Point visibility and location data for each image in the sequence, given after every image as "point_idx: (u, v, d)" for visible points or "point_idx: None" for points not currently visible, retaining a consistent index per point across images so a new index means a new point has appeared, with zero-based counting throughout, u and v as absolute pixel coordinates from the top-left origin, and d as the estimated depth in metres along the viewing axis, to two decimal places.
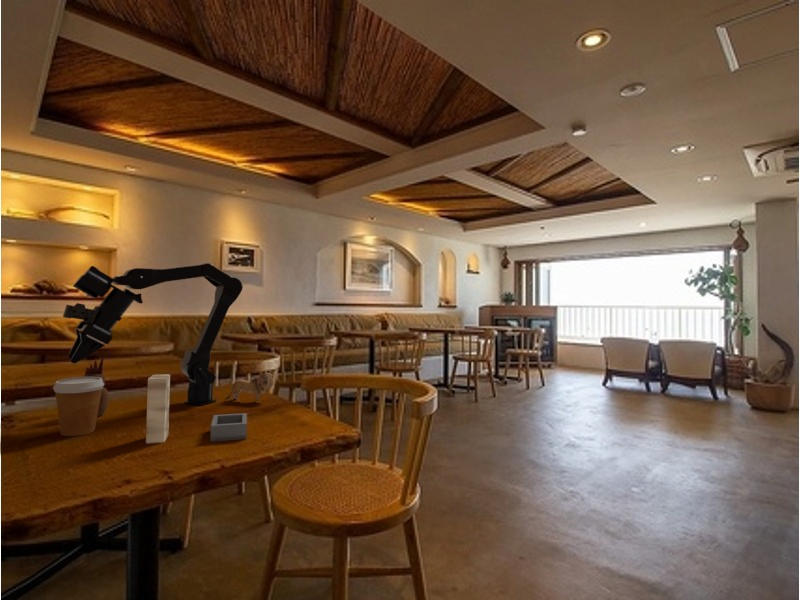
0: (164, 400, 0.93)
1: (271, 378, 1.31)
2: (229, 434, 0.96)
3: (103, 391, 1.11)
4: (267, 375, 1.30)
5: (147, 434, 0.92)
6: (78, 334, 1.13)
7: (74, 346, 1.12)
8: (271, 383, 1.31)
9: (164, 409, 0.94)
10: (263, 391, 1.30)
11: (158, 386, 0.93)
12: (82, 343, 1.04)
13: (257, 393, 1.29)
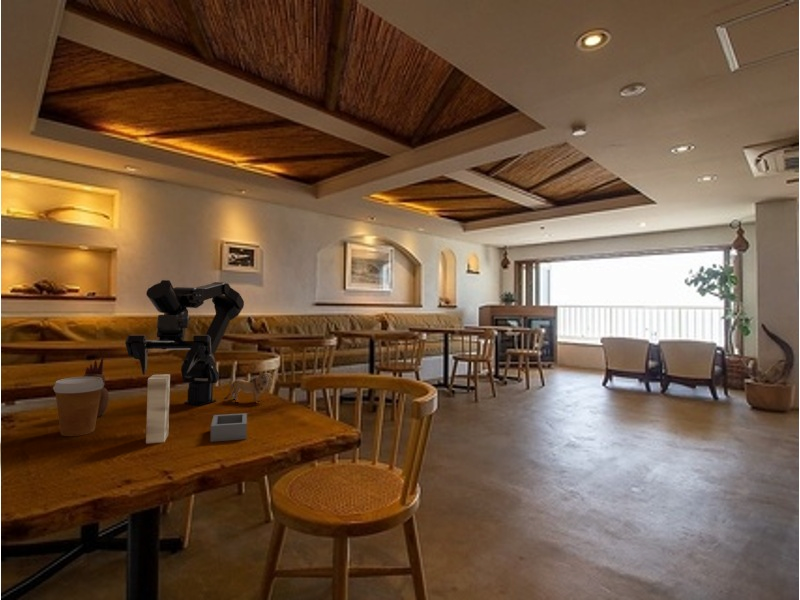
0: (164, 400, 0.93)
1: (270, 378, 1.31)
2: (229, 434, 0.96)
3: (103, 391, 1.11)
4: (266, 375, 1.31)
5: (147, 434, 0.92)
6: (145, 348, 1.04)
7: (145, 361, 1.03)
8: (270, 383, 1.31)
9: (164, 409, 0.94)
10: (262, 391, 1.30)
11: (158, 386, 0.93)
12: (196, 353, 1.07)
13: (256, 393, 1.29)
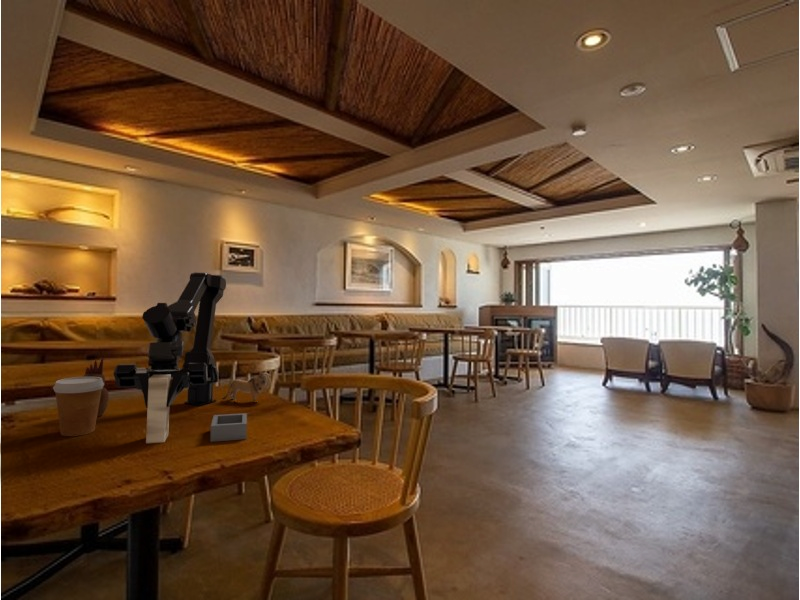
0: (165, 400, 0.93)
1: (269, 378, 1.31)
2: (229, 434, 0.96)
3: (103, 391, 1.11)
4: (265, 375, 1.31)
5: (147, 434, 0.92)
6: (148, 379, 0.96)
7: None
8: (269, 383, 1.31)
9: (164, 409, 0.94)
10: (261, 391, 1.30)
11: (158, 386, 0.93)
12: (178, 383, 0.98)
13: (255, 393, 1.29)
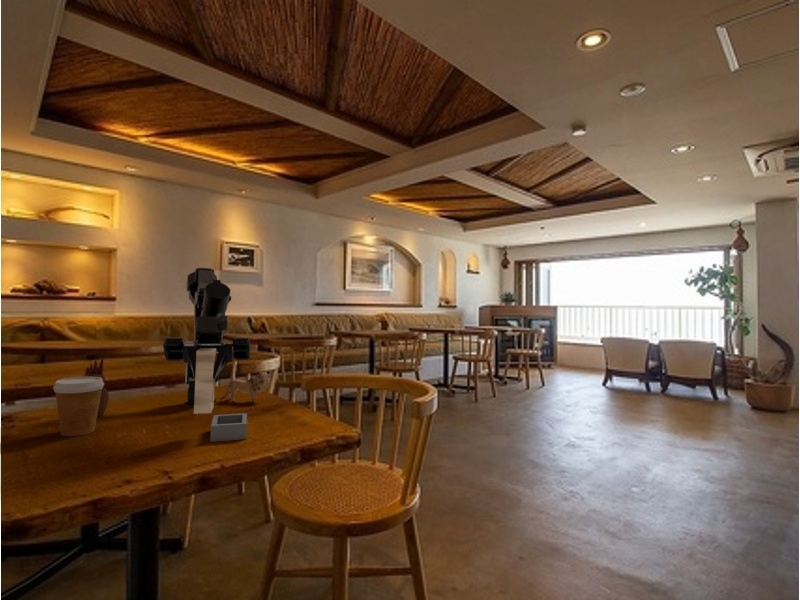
0: (211, 372, 0.96)
1: (267, 377, 1.31)
2: (229, 434, 0.96)
3: (103, 391, 1.11)
4: (263, 375, 1.31)
5: (195, 405, 0.95)
6: (196, 352, 0.99)
7: None
8: (267, 382, 1.31)
9: (211, 381, 0.96)
10: (259, 390, 1.30)
11: (205, 358, 0.96)
12: (223, 357, 1.01)
13: (253, 393, 1.30)
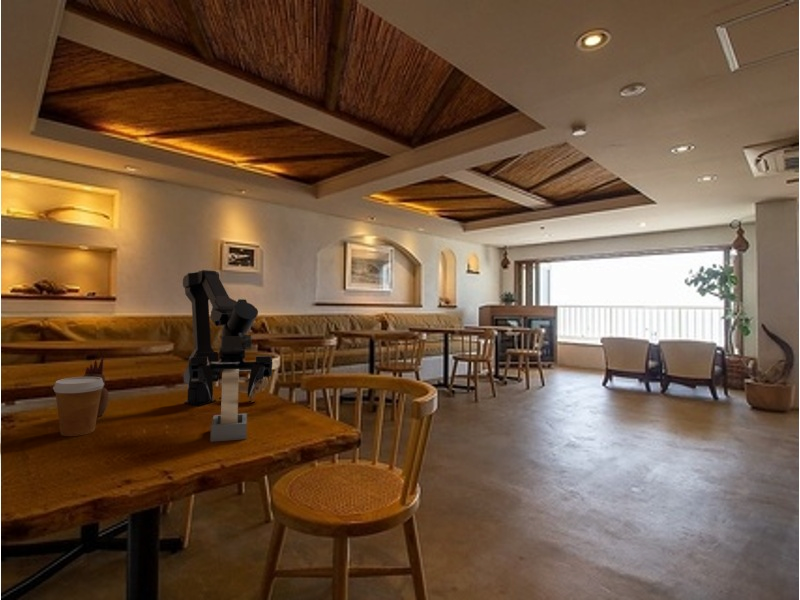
0: (237, 393, 0.98)
1: (266, 377, 1.32)
2: (229, 434, 0.96)
3: (103, 391, 1.11)
4: None
5: None
6: (211, 371, 1.00)
7: (212, 384, 0.99)
8: (266, 382, 1.32)
9: (237, 402, 0.99)
10: (258, 390, 1.30)
11: (231, 380, 0.98)
12: None
13: (252, 392, 1.30)
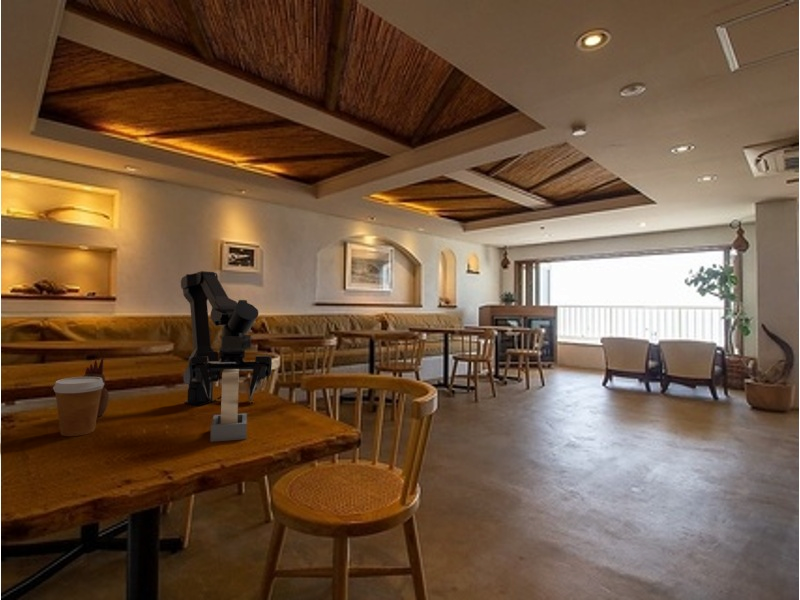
0: (237, 393, 0.98)
1: None
2: (229, 434, 0.96)
3: (103, 391, 1.11)
4: None
5: None
6: (208, 370, 1.01)
7: (209, 384, 1.00)
8: (264, 382, 1.31)
9: (237, 402, 0.99)
10: (256, 390, 1.30)
11: (231, 380, 0.98)
12: None
13: None
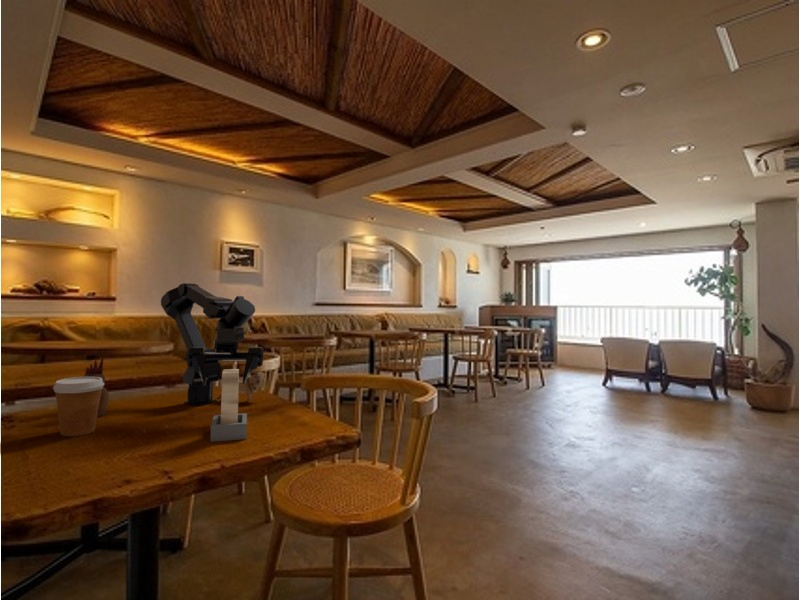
0: (237, 393, 0.98)
1: (263, 377, 1.32)
2: (229, 434, 0.96)
3: (103, 391, 1.11)
4: (259, 374, 1.31)
5: None
6: (204, 360, 1.09)
7: (205, 372, 1.08)
8: (263, 382, 1.31)
9: (237, 402, 0.99)
10: (255, 390, 1.30)
11: (231, 380, 0.98)
12: None
13: (249, 392, 1.30)
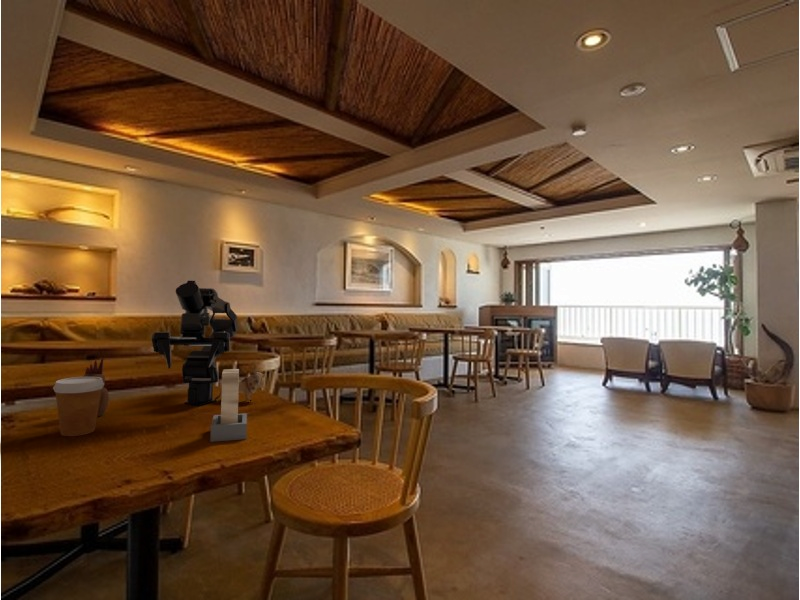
0: (237, 393, 0.98)
1: (262, 377, 1.32)
2: (229, 434, 0.96)
3: (103, 391, 1.11)
4: (258, 374, 1.31)
5: None
6: (169, 344, 1.12)
7: (170, 356, 1.10)
8: (262, 382, 1.32)
9: (237, 402, 0.99)
10: (254, 390, 1.30)
11: (231, 380, 0.98)
12: (216, 349, 1.15)
13: (248, 392, 1.30)
